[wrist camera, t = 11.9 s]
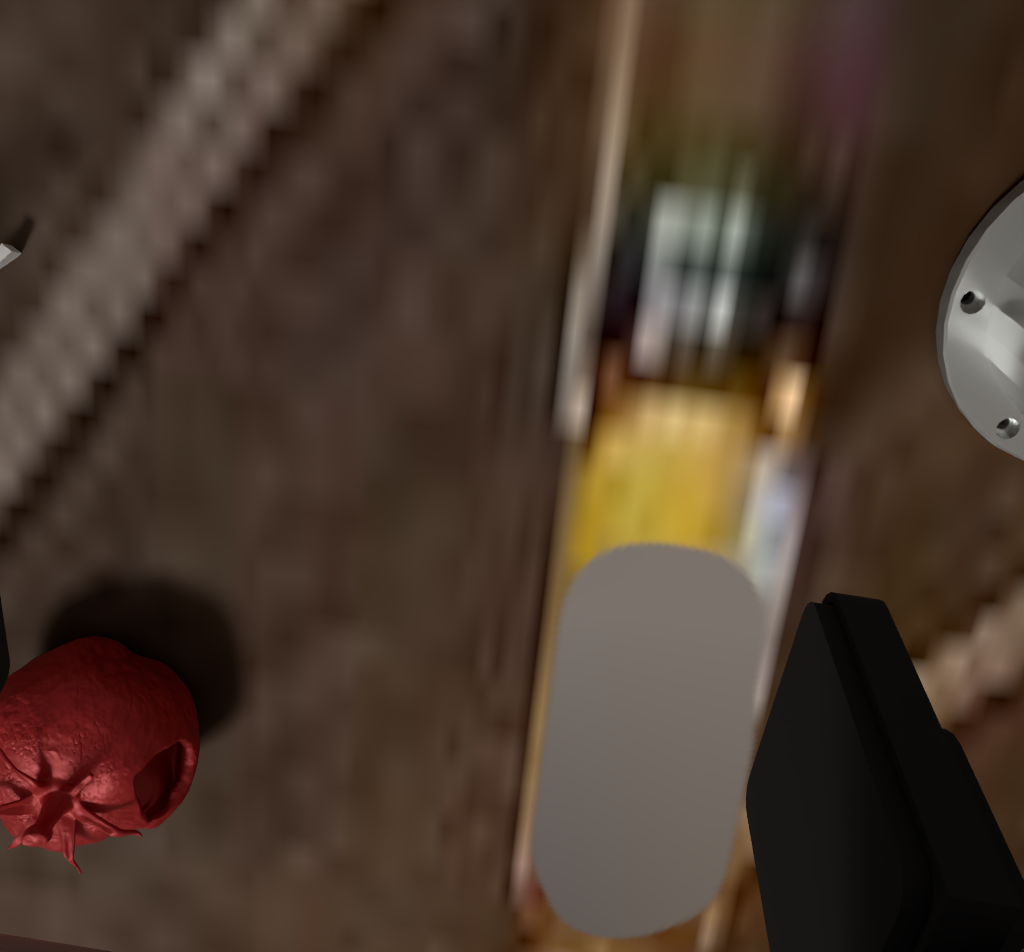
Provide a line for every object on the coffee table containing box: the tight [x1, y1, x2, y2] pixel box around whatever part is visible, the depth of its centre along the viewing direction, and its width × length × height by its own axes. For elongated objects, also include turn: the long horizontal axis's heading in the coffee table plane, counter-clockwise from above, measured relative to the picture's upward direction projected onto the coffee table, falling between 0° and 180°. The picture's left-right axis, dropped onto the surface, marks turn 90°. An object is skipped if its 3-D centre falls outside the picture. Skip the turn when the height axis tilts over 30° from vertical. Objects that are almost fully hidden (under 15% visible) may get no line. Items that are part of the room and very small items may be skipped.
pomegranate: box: [0, 636, 200, 873], centre depth 44 cm, size 10×10×9 cm
